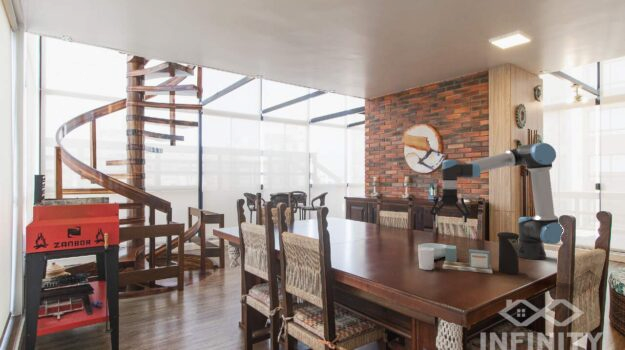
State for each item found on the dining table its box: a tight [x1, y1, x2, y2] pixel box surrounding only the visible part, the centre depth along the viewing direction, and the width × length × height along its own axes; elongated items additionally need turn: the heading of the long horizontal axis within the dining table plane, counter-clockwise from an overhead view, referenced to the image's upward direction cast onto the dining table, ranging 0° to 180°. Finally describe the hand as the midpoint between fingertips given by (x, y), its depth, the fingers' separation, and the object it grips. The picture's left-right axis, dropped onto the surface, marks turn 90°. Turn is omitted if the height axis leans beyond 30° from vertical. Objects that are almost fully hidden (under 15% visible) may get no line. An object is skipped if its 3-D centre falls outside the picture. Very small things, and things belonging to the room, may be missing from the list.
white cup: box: [417, 247, 435, 271], centre depth 178 cm, size 8×8×10 cm
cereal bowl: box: [417, 242, 447, 260], centre depth 201 cm, size 17×17×7 cm
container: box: [497, 231, 520, 276], centre depth 166 cm, size 9×9×20 cm
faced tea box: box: [468, 248, 491, 269], centre depth 171 cm, size 5×9×9 cm, turn 65°
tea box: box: [444, 244, 457, 262], centre depth 187 cm, size 5×9×9 cm, turn 155°
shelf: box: [442, 260, 493, 274], centre depth 173 cm, size 22×10×2 cm, turn 65°
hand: (449, 227), depth 187 cm, fingers open, 13 cm apart
